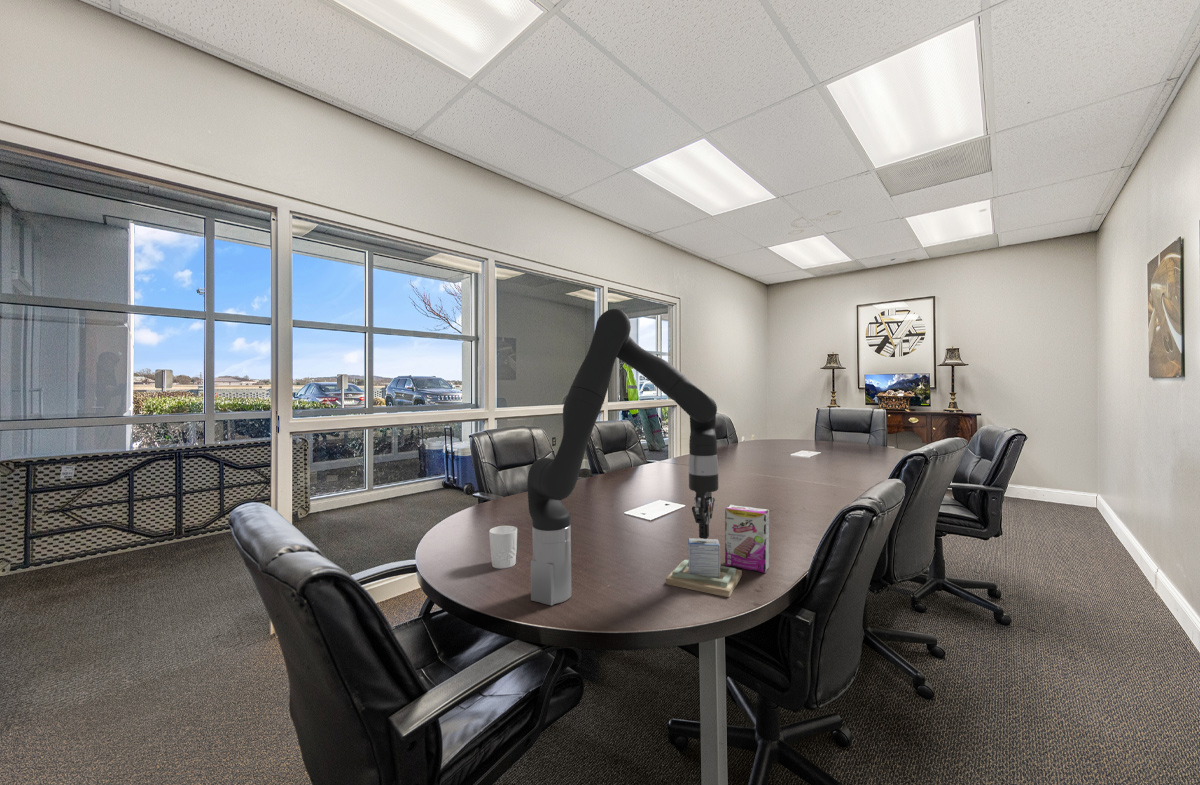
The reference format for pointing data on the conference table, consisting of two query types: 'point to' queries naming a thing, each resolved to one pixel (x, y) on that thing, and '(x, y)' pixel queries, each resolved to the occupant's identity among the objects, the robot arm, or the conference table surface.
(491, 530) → the white cup
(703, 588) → the locating plate
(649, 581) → the conference table surface
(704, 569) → the medicine box
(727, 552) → the candy bar box
